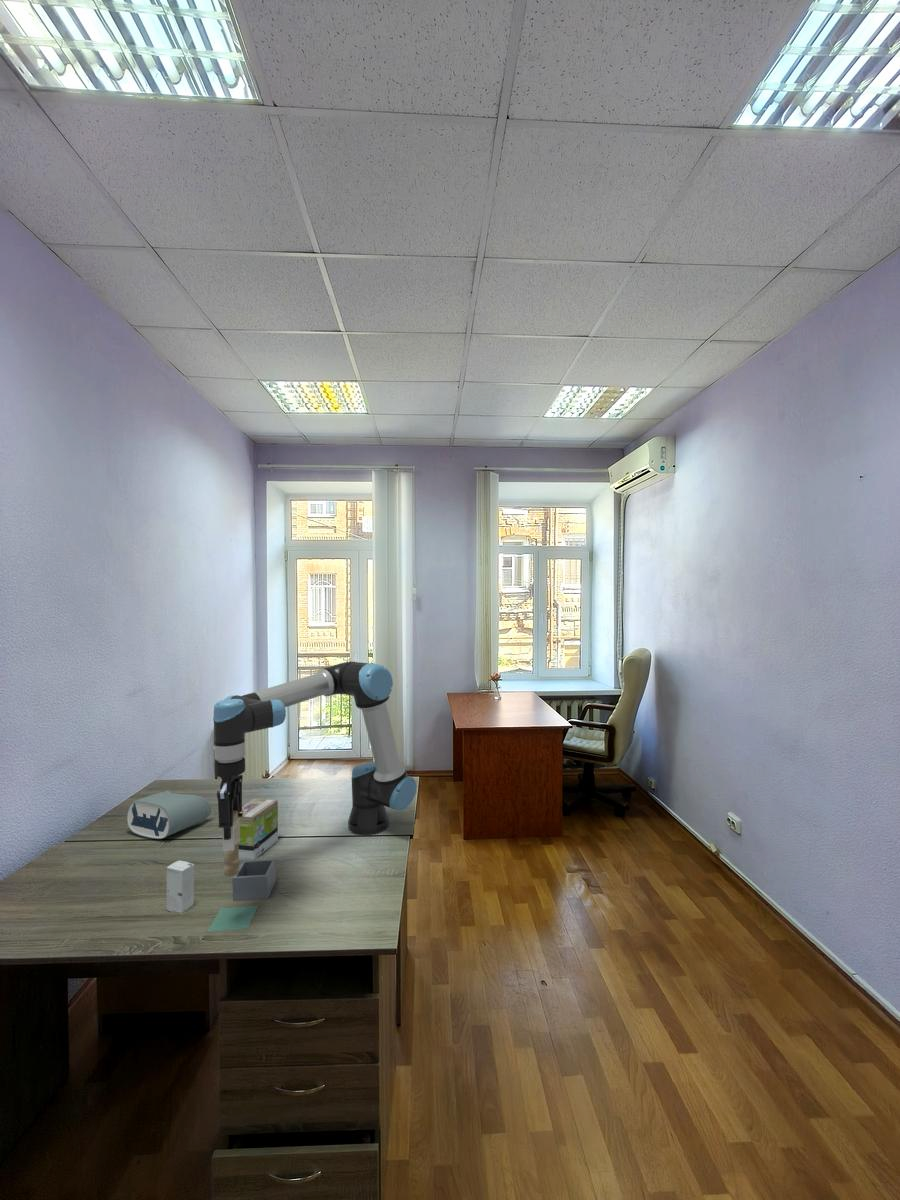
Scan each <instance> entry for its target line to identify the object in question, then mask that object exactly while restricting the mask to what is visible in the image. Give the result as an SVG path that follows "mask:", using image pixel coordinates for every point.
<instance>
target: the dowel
mask: <svg viewBox="0 0 900 1200" xmlns="http://www.w3.org/2000/svg"><path fill="white" fill-rule="evenodd" d="M233 825H234V843H235V849H234V851H223V860H224V861H223V863H224V865H223V868H224V870H223V871H224V876H226V877H234V875H236V874H238V873H239V867H240V858H239V842H238V811H236V810H233Z"/></svg>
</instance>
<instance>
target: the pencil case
mask: <svg viewBox="0 0 900 1200" xmlns="http://www.w3.org/2000/svg"><path fill="white" fill-rule="evenodd" d="M211 812H212V807H211V804H210V802H209V801H208V800H207V799H206V798H205V797H204V796H201V795H195V794H186V793H185V794H184V793H183V794H180V793H172V792H171V791H170V790H166V791H161V792H158V793H155V794H151V795H148V796H145V797H142V798H139V799H136V800H134V801H131V802H130V803H129V805H128V806H127V808H126V817H125V820H126V824H127V827H128V829H129V830H130V831H131V832H132V834H135V835H137V836H140V837H144V838H148V839H153V840H154V839H155V840H162V839H165V838H167V837H169V836H171V835H174V834H177V833H178V832H180V831H184V830H186V829H189V828H191V827H193V826H196V825H198V824H200V823H202V822H203V821H205V820H207V819H208V818H209V816H210V814H211Z"/></svg>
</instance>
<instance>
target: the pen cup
mask: <svg viewBox="0 0 900 1200" xmlns="http://www.w3.org/2000/svg"><path fill="white" fill-rule="evenodd" d="M276 881H277V859H276V858H271V859H270V858H269V859H254V860H252V859H250V860H243V861H241V863H240V864H239V873H238V874H236V875H234V876H232V901H233V902H238V901H239V902H240V901H251V900H252V901H253V900H254V901H255V900H266V899H267V900H268V899H269V898H270V895H271V892H272V891H273V888H274V886H275V884H276Z"/></svg>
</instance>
